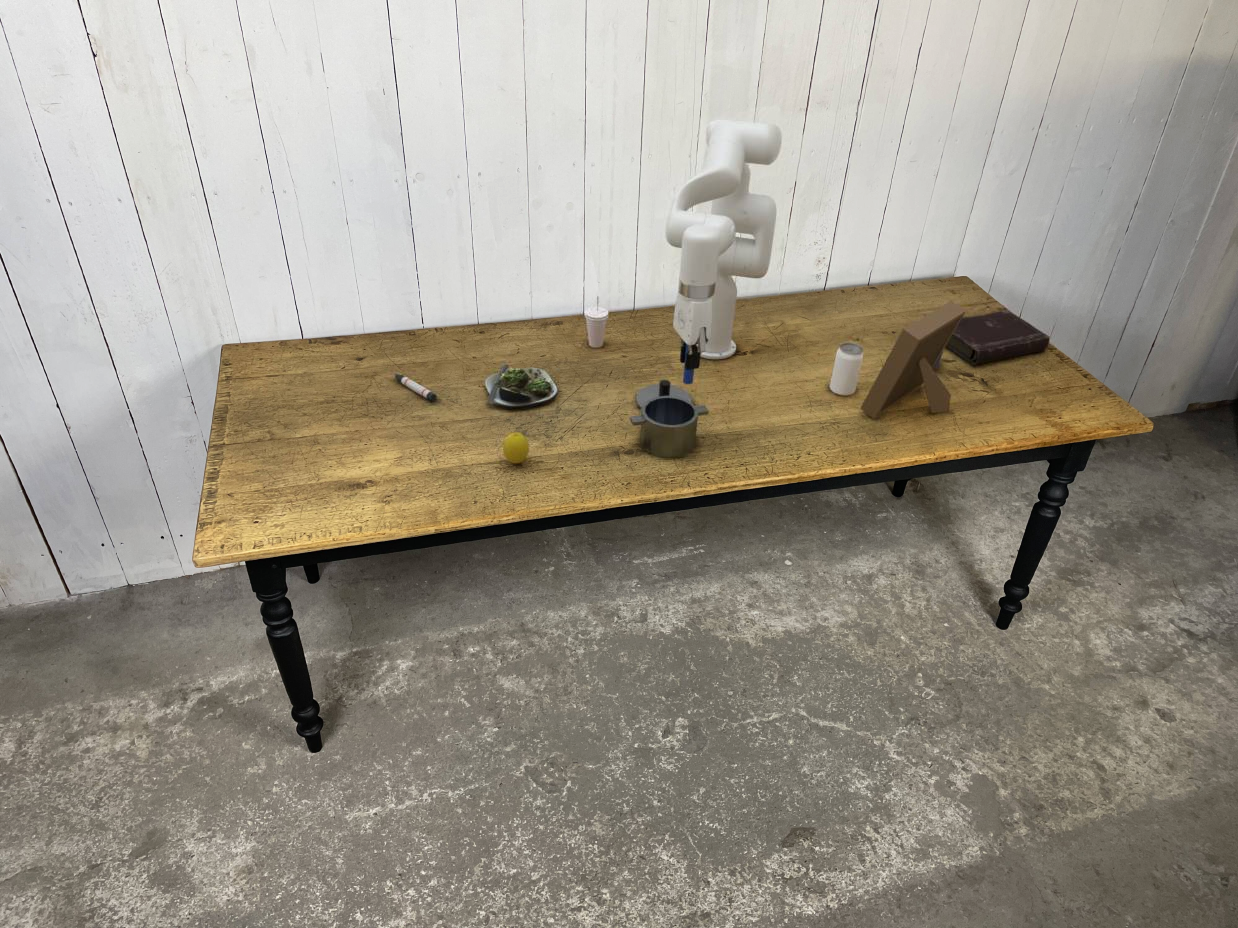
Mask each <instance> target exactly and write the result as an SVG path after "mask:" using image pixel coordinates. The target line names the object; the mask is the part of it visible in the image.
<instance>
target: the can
mask: <svg viewBox="0 0 1238 928" xmlns="http://www.w3.org/2000/svg"><path fill="white" fill-rule="evenodd" d="M863 351H864V349H863V347H862V346H861V345H859V344H858V343H854V342H843V343H841V344H840V345H839V347H838V349H837V351H836V354H835V359H834V364H833V368H832V373H831V377H830V378H831V379H830V383H829V389H830V391H831V392H832V393H833V394H835V395H838V396H842V397H849V396H851V395H854V393H855V392H856V390H857V385H858V382H859V378H860V374H861V369H862V365H863V360H864V352H863Z"/></svg>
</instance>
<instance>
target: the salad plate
mask: <svg viewBox="0 0 1238 928" xmlns="http://www.w3.org/2000/svg"><path fill="white" fill-rule="evenodd" d="M484 384H485V388H486V390H487V392H488V396H487V399H486V400H487V401H486V402H487V403H488V404H490V405H496V406H498V407H500V408H502V409H504V410H509V411H520V410H529V409H536V408H540V407H542V406H546V405H548V404H550V403H551V402H552V401H553V400H554V399H555V398H556V397H557V395H558V387H557V385H556V384H555V382H554V381H553V379H552V378H551V376H550V375H549V373H548V372H547V371H545V370H544V369H541V368H537V367H525V368H513V367H512V366H511V367H510V366H509V364H507V363H504V364H502V365H501V366H500V370H499V371H498V372H497V373H494V374H491V375H489V376H488V378H486V379H485V382H484Z"/></svg>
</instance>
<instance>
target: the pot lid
mask: <svg viewBox="0 0 1238 928" xmlns="http://www.w3.org/2000/svg"><path fill="white" fill-rule="evenodd" d="M660 396H676V397H680V398H683V399H686V400H688V401H690V402H691V403H693V402H692V401H693V400H692V396H691V395H690V393H689V392H688V391H687V390H685V389H684V388H682V387H681V386H677V385H673V384H671V381H670V380H667V379H661V380H660V381H659V383H654V384H650V385H647V386H644V387H642V388H640V390H638V392H637V393H636V395H635V402H636V405H637V406H638V407H639V408H640V409H641V410H642V406H643V405H644V404H645V402H646V401H648V400H650V399H652V398H654V397H660Z"/></svg>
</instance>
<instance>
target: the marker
mask: <svg viewBox="0 0 1238 928" xmlns="http://www.w3.org/2000/svg"><path fill="white" fill-rule="evenodd" d="M394 377H395V379H396V380H397V382H398V383H400V384H401V385H403V386H405V387H407V388H409V389H410V390H411V391H413V392H415V393H416V394H418V395H420V396H422V397H423V398H425V399H426V400H429V401H430V402H432V403H433V402H435V401H436V400H437V398H438V396H437V394H436V393H434V392H433V391H431V390H429V389H427V388H426V387H424V386H422V385H420V384H419V383H417V382H415V381H414V380H412V379H410V378H409V377H407V376H406V375H404V374H399V373H397V374H396V373H394Z"/></svg>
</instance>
